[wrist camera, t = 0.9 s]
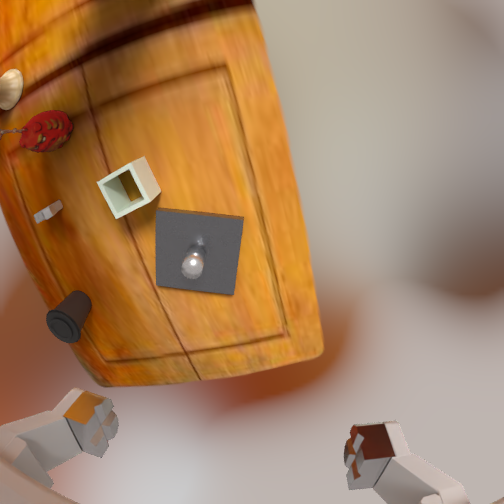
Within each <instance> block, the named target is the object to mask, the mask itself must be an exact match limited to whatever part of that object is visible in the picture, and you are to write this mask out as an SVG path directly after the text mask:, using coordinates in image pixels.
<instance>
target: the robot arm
mask: <svg viewBox="0 0 504 504" xmlns="http://www.w3.org/2000/svg"><path fill="white" fill-rule="evenodd" d="M113 407H114V406H113V403H112V400H111V399H109V398H106V397H103V396H100V395H97V394H94V393H91V392H88V391H85V390H82V389H79V388H73V389H72V390H71V391H70V392H69V393H68V394H67V395H66V396H65V397H64V398H63V400H62V401H61V402H60V403H59V404H58V405H57V406H56V407H55V409H53V411H52V412H51V411H46V412H43V413H40V414H37V415H34V416H31V417H27V418H24V419H21V420H18V421H15V422H12V423H8V424H5V425H2V426H1V427H0V504H79V503H77V502H75V501H73V500H71V499H69V498H66V497H65V496H63V495H61V494H59V493H57V492H55V491H54V490H52V489H50V488H51V487H52V485H53V484H54V483H53V480H52V479H51V478H50V476H49V475H48V473H47V471H49V470H51V469H53V468H55V467H56V466H58V465H60V464H62V463H64V462H66V461H67V460H69V459H71V458H73V457H75V456H76V455H78V454H80V453H82V451H84V452H86V453H89V454H92V455H95V456H97V457H100V458H102V456H103V455H104V453H105V451H106V450H107V448H108V447H109V444H108V440H110V439H112V438H114V437H115V435H116V433H117V429H118V426H119V425H118V418H117V415H116V414H115V413H114V412H113V411H112V408H113ZM350 435H351V438H350V439H348V440H347V441H346V445H345V449H344V462H345V466H346V467H348V468H349V471H348V473H347V481H348V488H349V490H355V489H364V488H373V489H374V490H375V491H376V492H377V493H378V494H379V495H380V496H381V497H382V498H383V500H384V501H386V503H387V504H470V502H469V499H468V497H467V494H466V492H465V490H464V487H463V485H462V484H461V483H459V482H458V481H456V480H454V479H453V478H451V477H450V476H448V475H447V474H445V473H443V472H442V471H440V470H439V469H437V468H436V467H434V466H433V465H431V464H430V463H428V462H427V461H425V460H424V459H422V458H421V457H419V456H418V455H416V454H411V453H410V450H409V448H408V445H407V443H406V440H405V438H404V435H403V433H402V430H401V428H400V425H399V423H398V422H397V421H388V422H378V423H367V424H355V425H353V426H352V428H351V430H350ZM491 504H504V497H503V498H501V499H499V500H497V501H495V502H493V503H491Z"/></svg>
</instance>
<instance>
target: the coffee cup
mask: <svg viewBox="0 0 504 504" xmlns="http://www.w3.org/2000/svg"><path fill="white" fill-rule="evenodd" d="M91 306H92V305H91V301H90V299H89V297H88V296H87V295H86V294H85V293H83V292H82V291H73V292H72V293H71V294H70V295H69V296H68V297H67V298H65V299H64V300H63V301H62V302H61V303H60V304H59V305H58V306H57V307H56V308H55V309H54V310H51V311H49V312H48V314H47V318H46V319H47V320H46V321H47V325H48V327H49V329H50V331H51V332H52V333H53V334H54V335H55V336H56V337H57V338H58V339H60V340H61V341H64V342H66V343H74V342H77V341H78V340H79V339H80V336H81V333H80V332H81V329H82V327H83V325H84V322H85V320H86V318H87V316H88V313H89V311H90V309H91Z"/></svg>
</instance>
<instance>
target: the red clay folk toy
mask: <svg viewBox="0 0 504 504" xmlns="http://www.w3.org/2000/svg"><path fill="white" fill-rule="evenodd" d="M72 130H73V123H72V122H71V120H69V118H68V115H67V114H66V113H64V112H63V111H55V110H50V111H45V112H42V113H40V114H38V115H36V116H34V117H33V118H32V119H31V120H30V121H29V122H28V123H27V124H26V125H25V126H24V127H23V128H22V130H17V129H16V128H15V129H13V130H1V129H0V134H1V135H0V140H1V136H2V135H3V134H4V133H9V132H13V133H15V132H19V133H22V137H21V139H20V145H21V146H22V147H23V148H25V147H26V148H27V149H29V150H31V151H35V152H51V151H54V150H56V149H57V148H61V147H62V145H63V142H65V141H67V140H69V138H70V134H71V132H72Z"/></svg>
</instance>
